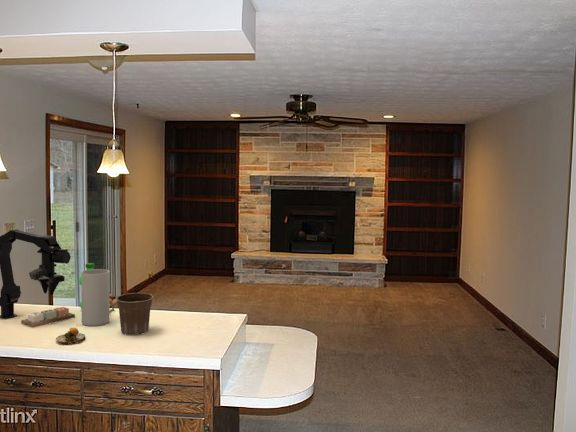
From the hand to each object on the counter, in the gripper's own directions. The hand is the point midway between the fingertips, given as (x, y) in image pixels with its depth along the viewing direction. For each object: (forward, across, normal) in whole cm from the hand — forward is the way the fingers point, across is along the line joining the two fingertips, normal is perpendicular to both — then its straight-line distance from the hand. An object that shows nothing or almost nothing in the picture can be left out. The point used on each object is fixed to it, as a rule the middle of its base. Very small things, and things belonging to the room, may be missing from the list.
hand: (48, 294), depth 241 cm
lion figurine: (+13, +11, +25) cm, 31 cm away
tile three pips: (+11, 0, +7) cm, 13 cm away
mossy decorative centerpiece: (+14, +34, -10) cm, 38 cm away
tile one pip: (+11, 0, -6) cm, 13 cm away
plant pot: (+13, +45, +15) cm, 49 cm away
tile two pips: (+11, 0, 0) cm, 11 cm away
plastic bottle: (+13, +1, +22) cm, 26 cm away
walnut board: (+13, 0, 0) cm, 13 cm away
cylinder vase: (+13, +20, +12) cm, 27 cm away
